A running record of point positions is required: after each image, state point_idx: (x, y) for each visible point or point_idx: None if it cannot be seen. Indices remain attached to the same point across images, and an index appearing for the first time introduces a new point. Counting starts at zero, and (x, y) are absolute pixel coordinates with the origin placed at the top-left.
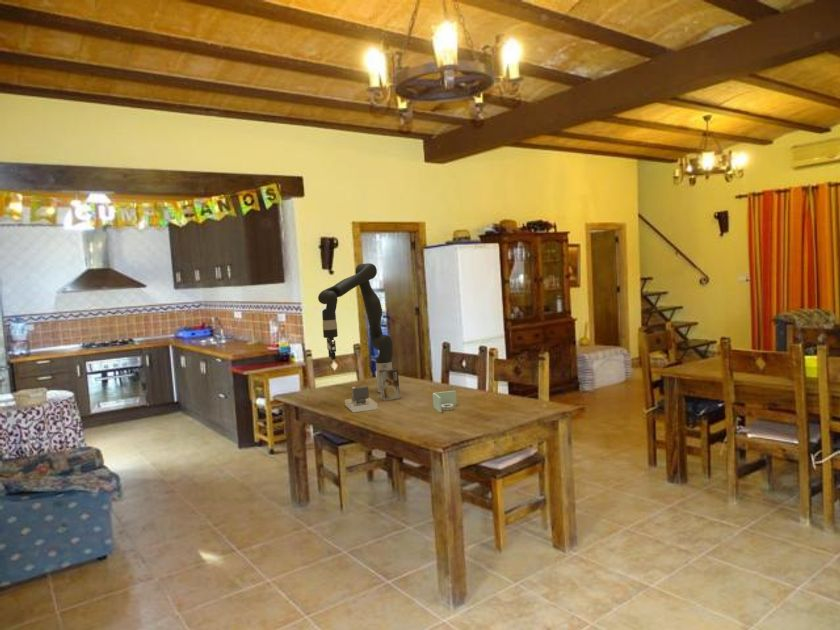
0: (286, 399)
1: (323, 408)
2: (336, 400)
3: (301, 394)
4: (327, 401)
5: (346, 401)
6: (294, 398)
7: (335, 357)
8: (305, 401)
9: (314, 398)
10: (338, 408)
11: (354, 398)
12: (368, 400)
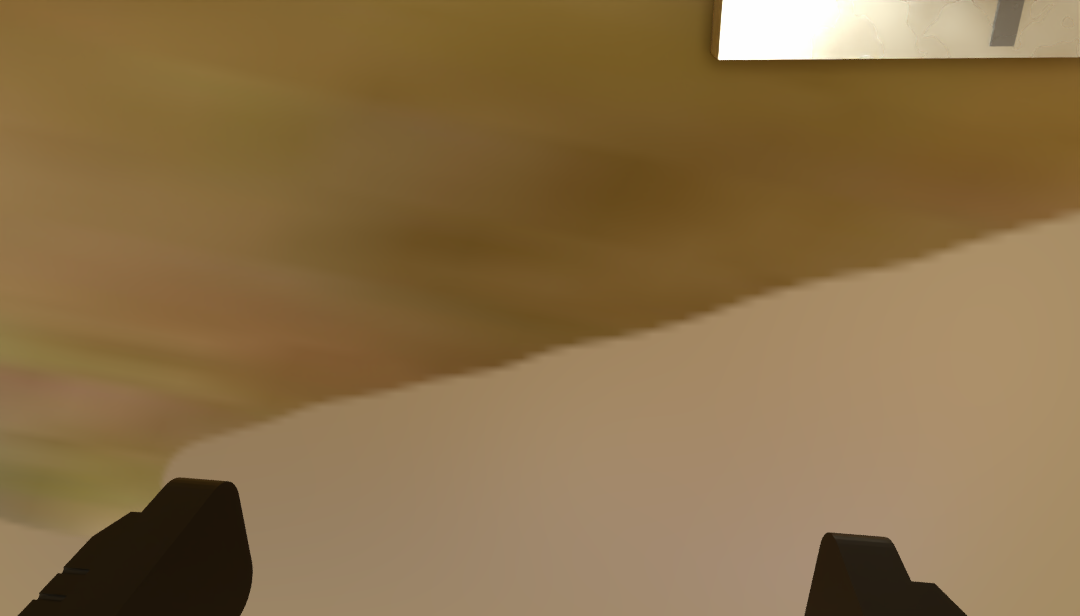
0: None
1: (706, 310)
2: (384, 98)
3: None
4: (386, 205)
5: (832, 58)
6: (104, 459)
7: (913, 583)
8: (280, 400)
9: (173, 300)
10: (822, 164)
11: None
12: None
